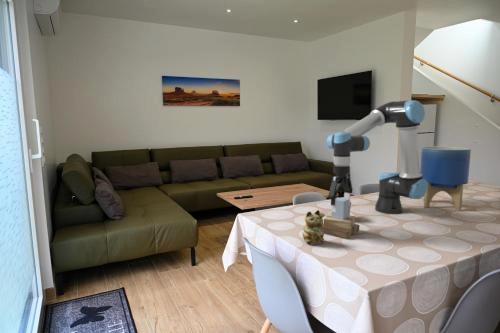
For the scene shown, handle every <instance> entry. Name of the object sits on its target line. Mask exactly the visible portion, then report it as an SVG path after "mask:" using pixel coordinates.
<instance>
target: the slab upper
mask: <svg viewBox="0 0 500 333" xmlns="http://www.w3.org/2000/svg"><path fill="white" fill-rule="evenodd" d="M323 224H324V227H325V228H332V229H338V230H344V231H350V229H351V228H352V227H353V226H354V225H355V224H356V216H355V215H350V216H349V217H348V218H347V219H345V220H340V219H335V218H332V212H330V213H329V214H328V215H327V216H325V217H324V218H323Z"/></svg>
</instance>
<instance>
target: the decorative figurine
mask: <svg viewBox="0 0 500 333" xmlns="http://www.w3.org/2000/svg"><path fill="white" fill-rule="evenodd" d="M325 217H326V215H325V213H324V212H320V210H319V209H315V211H313V213H312V212H311V211H307V212H306V214H305V217H304V221H305V225H304V226H303V228H302V230H303V232H302V237H303V240H304V241H305V242H306V243H309V245H310V246H311V245H320V244H321V241H322V242H323V241H325V238H324V236H325V234H324V232H323V231H322V230H320V228H321V227H322V226H323V224H324V218H325Z"/></svg>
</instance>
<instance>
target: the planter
mask: <svg viewBox="0 0 500 333" xmlns="http://www.w3.org/2000/svg"><path fill="white" fill-rule="evenodd" d="M471 151H472V149H471V148H470V147H469V148H468V147H459V146H437V145H435V146H434V145H433V146H422V147H421V151H420V152H421V154H420V166H419V172H420V173H422V179H425V180H426V181H427V183H428V188H427V191H426V193H425V195H424V196H423V197H422V198H423V199H422V200H423V201H422V202H423V208H425V207H426V208H425V209H428V207H429V208H430V205H431V202H432V200H433V198H434V197H435V196H436V194H438V193H439V192H445V193H446V194H448V195H449V196H450V197H451V200H452V205H454V204H455V205H454V210H455V211H457V212H461V211H462V205H463V196H464V195H463V192H464V185H467V184H469V175H470V166H471V165H470V163H471V153H472V152H471Z"/></svg>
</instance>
